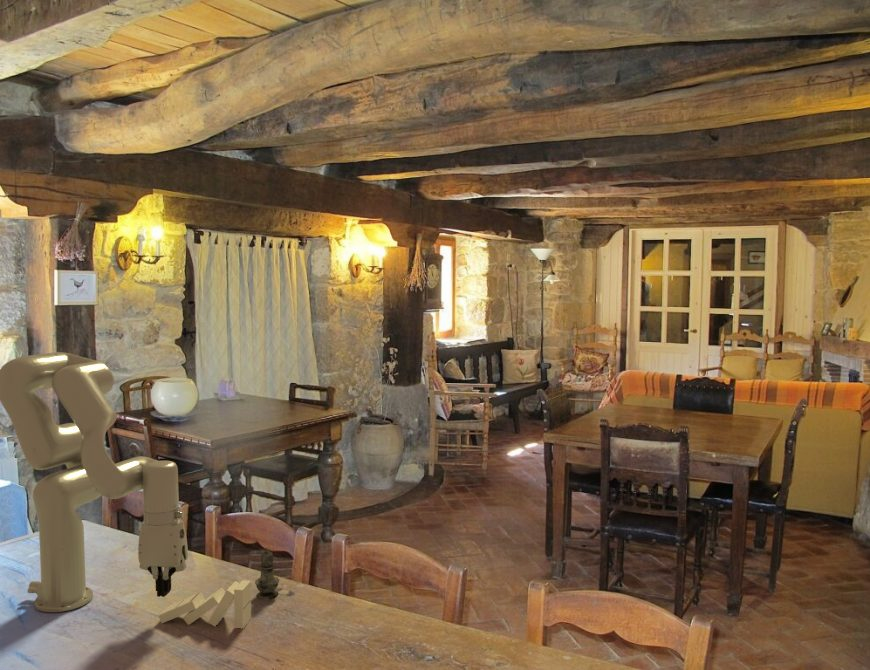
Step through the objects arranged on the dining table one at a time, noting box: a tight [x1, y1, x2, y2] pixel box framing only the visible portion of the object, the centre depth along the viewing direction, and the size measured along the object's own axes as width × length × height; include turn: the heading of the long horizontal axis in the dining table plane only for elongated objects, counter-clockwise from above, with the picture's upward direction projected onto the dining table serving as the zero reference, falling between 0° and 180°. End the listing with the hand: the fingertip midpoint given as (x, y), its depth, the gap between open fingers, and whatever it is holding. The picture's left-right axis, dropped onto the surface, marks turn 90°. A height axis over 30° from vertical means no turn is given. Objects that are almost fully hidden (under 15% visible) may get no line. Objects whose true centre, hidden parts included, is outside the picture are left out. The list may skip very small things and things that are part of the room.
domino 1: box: [157, 591, 206, 624], centre depth 170 cm, size 2×5×9 cm
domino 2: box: [183, 587, 226, 626], centre depth 169 cm, size 2×5×9 cm
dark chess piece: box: [254, 547, 280, 601], centre depth 183 cm, size 6×6×12 cm
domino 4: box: [233, 579, 252, 630], centre depth 168 cm, size 2×5×9 cm, turn 173°
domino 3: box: [207, 580, 241, 628], centre depth 168 cm, size 2×5×9 cm
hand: (163, 594), depth 170 cm, fingers closed
